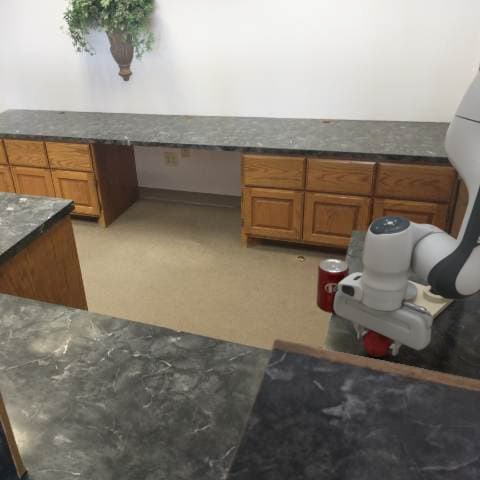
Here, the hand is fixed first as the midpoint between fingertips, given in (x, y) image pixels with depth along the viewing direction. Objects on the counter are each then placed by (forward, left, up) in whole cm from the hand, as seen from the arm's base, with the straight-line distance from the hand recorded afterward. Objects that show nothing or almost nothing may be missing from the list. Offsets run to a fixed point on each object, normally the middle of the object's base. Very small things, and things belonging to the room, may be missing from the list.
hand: (376, 345), depth 111 cm
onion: (0, 0, -3) cm, 3 cm away
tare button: (0, -28, 0) cm, 28 cm away
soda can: (+18, -10, -3) cm, 21 cm away
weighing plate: (+8, -23, 0) cm, 24 cm away
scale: (+5, -25, -3) cm, 26 cm away
